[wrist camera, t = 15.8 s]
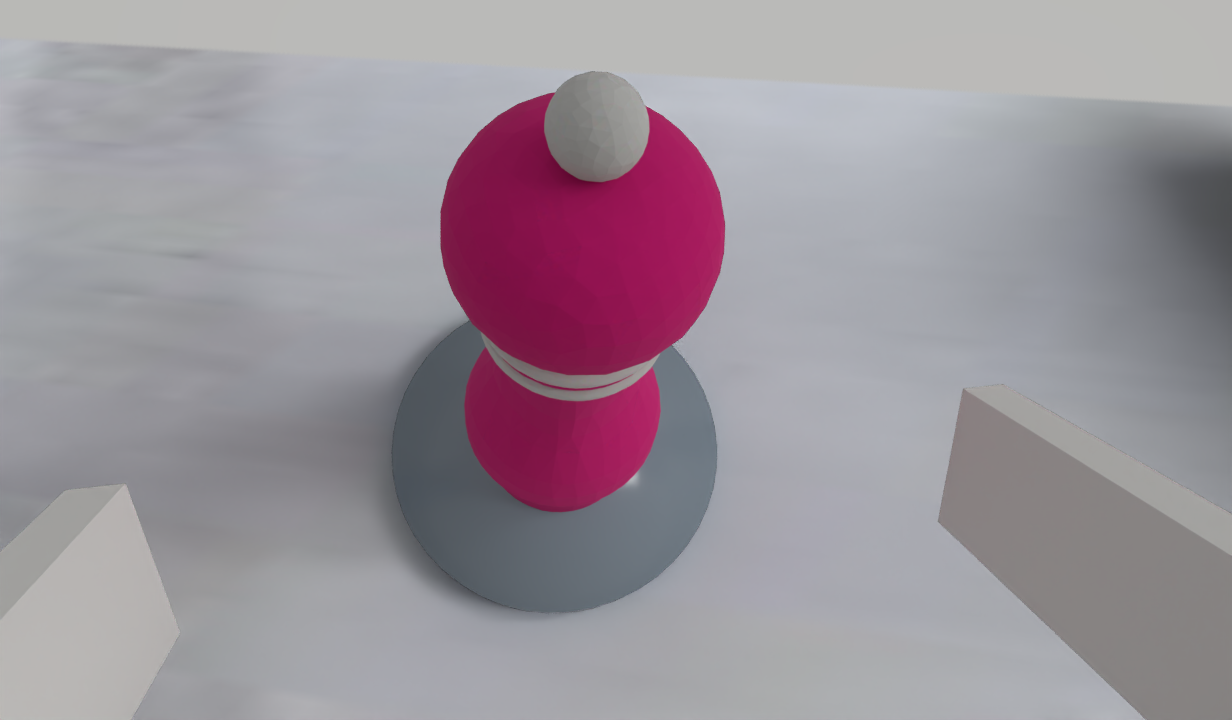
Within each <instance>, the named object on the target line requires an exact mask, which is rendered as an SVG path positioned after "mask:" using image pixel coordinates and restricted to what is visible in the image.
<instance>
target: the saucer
mask: <svg viewBox="0 0 1232 720" xmlns="http://www.w3.org/2000/svg"><path fill="white" fill-rule="evenodd" d="M485 347H486V346H485V343H484V341H483V339H482V335H481V331H480V330H478V329H477V328H476V327H475V326H474V325H473V324H472V322H471V321H468V322H467V323H465V324H464V325H462V326H461V327H459V328H458V329H456V330H455V331H454V332H453V333H451V334H450V335H449V336H448V337H447V338H445V339H444V340H443V341H442V342H441V343H440V344H439V345H438V346H437V347H436V348H435V349H434V350H433V351H432V352H431V353H430V355H429V356H428V357H427V358H426V359H425V361H424V362H423V364H422V365H421V366H420V368H419V369H418V371H417V372H416V373H415V375H414V377H413V379H412V381H411V383H410V384H409V386H408V388H407V390H406V392H405V395H404V397H403V400H402V403H401V405H400V408H399V411H398V415H397V419H396V423H395V428H394V433H393V444H392V466H393V477H394V482H395V487H396V492H397V496H398V499H399V502H400V505H401V508H402V511H403V514H404V516H405V518H406V520H407V522H408V524H409V526H410V528H411V530H412V532H413V534H414V536H415V537H416V538H417V540H418V541H419V543H420V544H421V545H422V547H423V548H424V550H425V551H426V552H427V554H428V555H429V556H430V557H431V558H432V559H433V560H434V561H435V562H436V563H437V564H438V565H439V566H440V567H441V568H442V569H443V570H444V571H445V572H446V573H447V574H449V575H450V576H451V577H453V578H454V579H455V580H456V581H458V582H459V583H460V584H462V585H463V586H464V587H466V588H468V589H470V590H471V591H473V592H475V593H477V594H478V595H480V596H482V597H484V598H486V599H489V600H491V601H494V602H496V603H499V604H501V605H504V606H507V607H512V608H516V609H520V610H524V611H531V612H541V613H566V612H575V611H581V610H586V609H592V608H596V607H599V606H602V605H605V604H608V603H611V602H614V601H616V600H618V599H620V598H622V597H624V596H626V595H628V594H630V593H632V592H634V591H636V590H638V589H640V588H641V587H643V586H644V585H645V584H647V583H648V582H650V581H651V580H653V579H654V578H656V577H657V576H658V575H659V574H660V573H661V572H663V571H664V570H665V569H666V568H667V567H668V566H669V565H670V564H671V563H673V562H674V560H675V559H676V558H677V557H678V556H679V554H680V553H681V552H682V551H683V550H684V548H685V547H686V546H687V545H688V543H689V542H690V540H691V538H692V537H693V535H694V534H695V532H696V530H697V529H698V527H699V525H700V523H701V521H702V518H703V516H704V514H705V512H706V510H707V507H708V504H709V501H710V497H711V494H712V491H713V486H714V480H715V474H716V466H717V444H716V434H715V427H714V422H713V418H712V414H711V410H710V407H709V404H708V402H707V399H706V396H705V394H704V391H703V389H702V387H701V385H700V383H699V382H698V380H697V378H696V376H695V374H694V372H693V371H692V370H691V368H690V367H689V365H688V364H687V363H686V361H685V360H684V358H683V357H682V356H681V355H680V354H679V353H678V352H677V350H676V349H675V348H674V347H673V346H672V345H671V346H669V347H668V348H667V349H665V350H664V351H662V352H661V353H660V355H659V356H658V358H657V360H656V361H655V363H654V364H653V366H652V367H653V370H654V372H655V376H656V380H657V383H658V387H659V392H660V408H661V413H660V419H659V425H658V430H657V433H656V437H655V439H654V442H653V445H652V448H651V451H650V453H649V455H648V456H647V458H646V460H645V462H644V464H643V465H642V466H641V468H640V469H639V470H638V471H637V473H636V474H635V475H634V476H633V477H632V478H631V479H630V480H629V481H628V482H627V483H626V484H625V485H623V486H622V487H621V488H619V489H618V490H616V491H614V492H613V493H611V494H610V495H608V496H606V497H603V498H602V499H600V500H599V501H597V502H595V503H594V504H592V505H590V506H587V507H585V508H582V509H578V510H574V511H568V512H549V511H542V510H539V509H536V508H533V507H530V506H528V505H526V504H524V503H522V502H520V501H519V500H517V499H515V498H514V497H513V496H512V495H511V494H509V493H508V492H507V491H506V490H505V489H504V488H503V487H502V486H501V485H499V484H498V483H497V482H496V481H495V480H494V479H492V478H491V476H490V475H489V474H488V473H487V472H486V471H485V469H484V468H483V467H482V466H481V464H480V462H479V461H478V459H477V457H476V456H475V454H474V452H473V449H472V447H471V444H470V442H469V439H468V434H467V429H466V424H465V408H464V402H465V394H466V386H467V383H468V379H469V376H470V373H471V371H472V369H473V367H474V365H475V363H476V361H477V359H478V357H479V356H480V354H481V352H482V351H483V350H484V348H485Z"/></svg>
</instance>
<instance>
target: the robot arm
mask: <svg viewBox="0 0 1232 720" xmlns="http://www.w3.org/2000/svg"><path fill="white" fill-rule="evenodd" d="M938 522H939V523H940V524H941V525H942V526H943V527H944V528H945V529H946V530H947V531H948V532H949V533H950V534H951V535H953V536H954V537H955V538H956V539H957V540H958V541H959V542H960V543H961V544H962V545H963V546H964V547H965V548H966V549H967V550H968V551H969V552H970V553H971V554H973V555H974V556H975V557H976V558H977V559H978V560H979V561H980V562H981V563H982V564H983V565H984V566H985V567H986V568H987V569H988V570H989V571H990V572H991V573H993V574H994V575H995V576H996V577H997V578H998V579H999V580H1000V581H1001V582H1002V583H1003V584H1004V585H1005V586H1006V587H1007V588H1008V589H1009V590H1010V591H1011V592H1013V593H1014V594H1015V595H1016V596H1017V597H1018V598H1019V599H1020V600H1021V601H1022V602H1023V603H1024V604H1025V605H1026V606H1027V607H1028V608H1029V609H1030V610H1031V611H1032V612H1034V613H1035V614H1036V615H1037V616H1038V617H1039V618H1040V619H1041V620H1042V621H1043V622H1044V623H1045V624H1046V625H1047V626H1048V627H1049V628H1050V629H1051V630H1052V631H1054V632H1055V633H1056V634H1057V635H1058V636H1059V637H1060V638H1061V639H1062V640H1063V641H1064V642H1065V643H1066V644H1067V645H1068V646H1069V647H1070V648H1071V649H1072V650H1074V651H1075V652H1076V653H1077V654H1078V655H1079V656H1080V657H1081V658H1082V659H1083V660H1084V661H1085V662H1086V663H1087V664H1088V665H1089V666H1090V667H1091V668H1092V669H1094V670H1095V671H1096V672H1097V673H1098V674H1099V675H1100V676H1101V677H1102V678H1103V679H1104V680H1105V681H1106V682H1107V683H1108V684H1109V685H1110V686H1111V687H1112V688H1114V689H1115V690H1116V691H1117V692H1118V693H1119V694H1120V695H1121V696H1122V697H1123V698H1124V699H1125V700H1126V701H1127V702H1128V703H1129V704H1130V705H1131V706H1132V707H1133V708H1135V709H1136V710H1137V711H1138V712H1139V713H1140V714H1141V715H1142V716H1143V717H1144V718H1145V719H1146V720H1232V514H1231V513H1229V512H1228V511H1226V510H1224V509H1222V508H1220V507H1219V506H1217V505H1215V504H1213V503H1212V502H1210V501H1208V500H1206V499H1205V498H1203V497H1201V496H1199V495H1198V494H1196V493H1194V492H1192V491H1190V490H1189V489H1187V488H1185V487H1183V486H1182V485H1180V484H1178V483H1176V482H1175V481H1173V480H1171V479H1169V478H1167V477H1166V476H1164V475H1162V474H1160V473H1159V472H1157V471H1155V470H1153V469H1152V468H1150V467H1148V466H1146V465H1145V464H1143V463H1141V462H1139V461H1137V460H1136V459H1134V458H1132V457H1130V456H1129V455H1127V454H1125V453H1123V452H1122V451H1120V450H1118V449H1116V448H1115V447H1113V446H1111V445H1109V444H1107V443H1106V442H1104V441H1102V440H1100V439H1099V438H1097V437H1095V436H1093V435H1092V434H1090V433H1088V432H1086V431H1084V430H1083V429H1081V428H1079V427H1077V426H1076V425H1074V424H1072V423H1070V422H1069V421H1067V420H1065V419H1063V418H1062V417H1060V416H1058V415H1056V414H1054V413H1053V412H1051V411H1049V410H1047V409H1046V408H1044V407H1042V406H1040V405H1039V404H1037V403H1035V402H1033V401H1032V400H1030V399H1028V398H1026V397H1024V396H1023V395H1021V394H1019V393H1017V392H1016V391H1014V390H1012V389H1010V388H1009V387H1007V386H1005V385H1003V384H1000V385H992V386H983V387H974V388H965V389H963V392H962V397H961V403H960V408H959V413H958V418H957V424H956V429H955V434H954V440H953V445H952V450H951V455H950V461H949V466H948V471H947V476H946V482H945V487H944V492H943V498H942V503H941V508H940V513H939V519H938ZM179 634H180V631H179V628H178V625H177V622H176V620H175V617H174V614H173V611H172V609H171V606H170V603H169V600H168V598H167V595H166V592H165V590H164V587H163V584H162V581H161V579H160V576H159V573H158V570H157V568H156V565H155V562H154V559H153V557H152V554H151V551H150V548H149V546H148V543H147V540H146V538H145V535H144V532H143V529H142V527H141V524H140V521H139V518H138V516H137V513H136V510H135V507H134V505H133V502H132V499H131V497H130V494H129V491H128V488H127V486H126V483H123V484H115V485H106V486H97V487H88V488H79V489H70V490H65V491H64V492H63V493H62V494H61V495H60V496H58V497H57V498H56V499H55V500H54V501H53V502H52V503H51V504H50V505H49V506H48V507H47V508H46V509H45V510H44V511H43V512H42V513H41V514H40V515H39V516H37V517H36V518H35V519H34V520H33V521H32V522H31V523H30V524H29V525H28V526H27V527H26V528H25V529H24V530H23V531H22V532H21V533H20V534H19V535H17V536H16V537H15V538H14V539H13V540H12V541H11V542H10V543H9V544H8V545H7V546H6V547H5V548H4V549H3V550H2V551H1V552H0V720H132V718H133V716H134V714H135V713H136V711H137V709H138V707H139V706H140V704H141V702H142V700H143V698H144V697H145V695H146V693H147V691H148V690H149V688H150V686H151V684H152V682H153V681H154V679H155V677H156V675H157V674H158V672H159V670H160V668H161V666H162V665H163V663H164V661H165V659H166V658H167V656H168V654H169V652H170V650H171V649H172V647H173V645H174V643H175V641H176V640H177V638H178V636H179Z"/></svg>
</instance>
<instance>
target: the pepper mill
mask: <svg viewBox="0 0 1232 720" xmlns="http://www.w3.org/2000/svg"><path fill="white" fill-rule="evenodd" d="M724 241H725V221H724V215H723V209H722V203H721V197H720V192H719V189H718V187H717V184H716V182H715V179H714V177H713V174H712V171H711V170H710V168H709V167H708V165H707V163H706V162H705V160H704V159H703V157H702V156H701V154H700V152H699V151H698V149H697V148H696V147H695V146H694V144H693V143H692V142H691V141H690V140H689V139H688V138H687V137H686V136H685V135H684V134H683V133H682V131H681V130H680V129H678V128H677V127H676V126H675V125H673V124H672V123H671V122H670V121H668V120H667V119H666V118H665V117H663V116H662V115H660V114H659V113H657V112H655V111H653V110H652V109H650V108H648V107H646V106H645V105H644V103H643V101H642V99H641V97H640V95H639V93H638V92H637V91H636V90H635V89H634V88H633V87H632V86H631V85H630V84H629V83H628V82H627V81H626V80H625V79H622V78H620V77H618V76H615V75H613V74H611V73H608V72H595V71H591V72H587V73H584V74H580V75H576V76H574V77H572V78H571V79H569V80H567V81H566V82H565V83H564V84H562V85H561V86H560V87H559V88H558V89H557V91H556V92H555V93H549V94H546V95H543V96H539V97H536V98H533V99H531V100H528V101H525V102H522V103H519V104H517V105H515V106H514V107H512V108H510V109H509V110H507V111H505V112H504V113H502V114H500V115H499V116H497V117H496V118H495V119H494V120H492V121H491V122H490V123H489V124H488V125H487V126H485V127H484V128H483V129H482V130H481V131H479V132H478V134H477V135H476V136H475V138H474V139H473V140H472V141H471V143H470V144H469V145H468V147H467V148H466V149H465V150H464V152H463V153H462V154H461V156H460V157H459V159H458V160H457V163H456V165H455V167H454V169H453V171H452V173H451V175H450V177H449V179H448V182H447V186H446V191H445V195H444V199H443V203H442V207H441V252H442V259H443V265H444V269H445V272H446V275H447V278H448V281H449V284H450V286H451V289H452V291H453V294H454V296H455V297H456V299H457V300H458V302H459V303H460V305H461V307H462V308H463V310H464V311H465V313H466V315H467V316H468V318H469V319H470V321H471V322H472V324H473V325H474V326H475V327H476V328H477V329H478V330H480V331H481V335H482V339H483V341H484V343H485V346H486V347H485V348H484V350H483V351H482V352H481V354H480V356H479V357H478V359H477V361H476V363H475V365H474V367H473V369H472V371H471V373H470V376H469V379H468V383H467V386H466V394H465V402H464V408H465V424H466V429H467V434H468V439H469V442H470V444H471V447H472V449H473V452H474V454H475V456H476V457H477V459H478V461H479V462H480V464H481V466H482V467H483V468H484V469H485V471H486V472H487V473H488V474H489V475H490V476H491V478H492V479H494V480H495V481H496V482H497V483H498V484H499V485H501V486H502V487H503V488H504V489H505V490H506V491H507V492H508V493H509V494H511V495H512V496H513V497H514V498H515V499H517V500H519V501H520V502H522V503H524V504H526V505H528V506H530V507H533V508H536V509H539V510H542V511H549V512H568V511H574V510H578V509H582V508H585V507H587V506H590V505H592V504H594V503H595V502H597V501H599V500H600V499H602V498H603V497H606V496H608V495H610V494H611V493H613V492H614V491H616V490H618V489H619V488H621V487H622V486H623V485H625V484H626V483H627V482H628V481H629V480H630V479H631V478H632V477H633V476H634V475H635V474H636V473H637V471H638V470H639V469H640V468H641V466H642V465H643V464H644V462H645V460H646V458H647V456H648V455H649V453H650V451H651V448H652V445H653V442H654V439H655V437H656V433H657V430H658V425H659V419H660V413H661V408H660V392H659V387H658V383H657V380H656V376H655V372H654V370H653V367H652V366H653V364H654V363H655V361H656V360H657V358H658V356H659V355H660V353H661V352H662V351H664V350H665V349H667V348H668V347H669V346H671V345H672V344H674V343H675V342H676V341H678V340H679V339H681V338H682V337H683V336H684V335H685V333H686V332H687V331H688V330H689V329H690V327H691V326H692V325H693V324H694V322H695V321H696V320H697V318H698V317H699V315H700V314H701V312H702V311H703V310H704V308H705V307H706V305H707V302H708V300H709V298H710V295H711V293H712V290H713V288H714V286H715V283H716V281H717V278H718V276H719V274H720V269H721V264H722V259H723V254H724Z"/></svg>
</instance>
